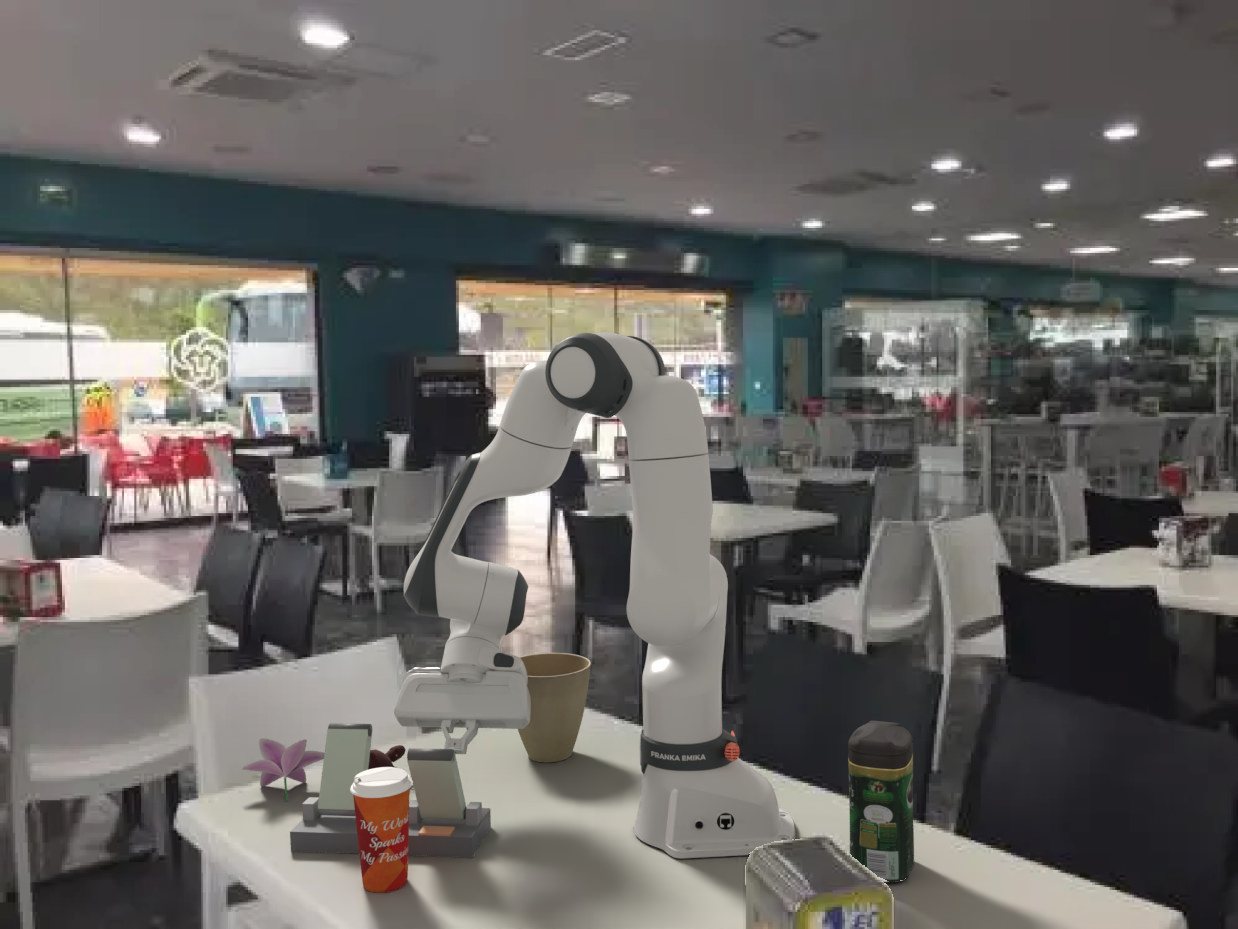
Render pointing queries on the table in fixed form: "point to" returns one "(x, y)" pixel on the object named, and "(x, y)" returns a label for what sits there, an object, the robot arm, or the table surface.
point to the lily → (283, 762)
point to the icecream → (385, 757)
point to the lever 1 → (343, 766)
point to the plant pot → (554, 704)
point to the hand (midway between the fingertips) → (454, 752)
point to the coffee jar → (882, 799)
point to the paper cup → (382, 827)
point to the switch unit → (423, 832)
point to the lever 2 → (437, 783)
